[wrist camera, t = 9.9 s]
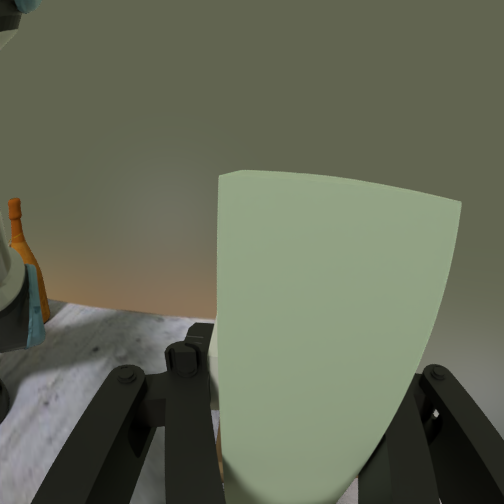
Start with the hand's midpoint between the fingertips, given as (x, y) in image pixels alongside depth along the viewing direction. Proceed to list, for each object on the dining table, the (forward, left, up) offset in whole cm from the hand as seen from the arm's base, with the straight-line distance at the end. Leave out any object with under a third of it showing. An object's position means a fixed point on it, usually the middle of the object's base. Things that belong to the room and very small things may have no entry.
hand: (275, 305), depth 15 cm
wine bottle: (-55, +31, -27) cm, 69 cm away
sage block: (0, -5, -9) cm, 10 cm away
